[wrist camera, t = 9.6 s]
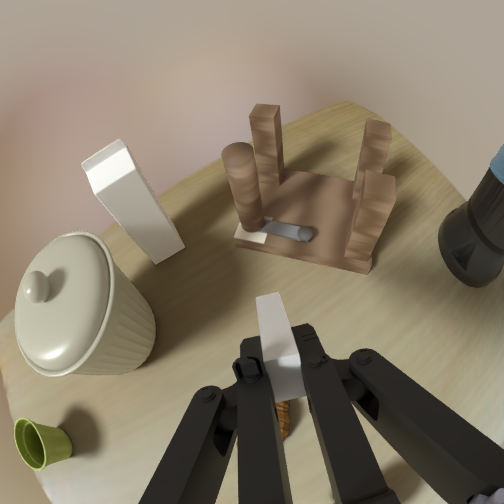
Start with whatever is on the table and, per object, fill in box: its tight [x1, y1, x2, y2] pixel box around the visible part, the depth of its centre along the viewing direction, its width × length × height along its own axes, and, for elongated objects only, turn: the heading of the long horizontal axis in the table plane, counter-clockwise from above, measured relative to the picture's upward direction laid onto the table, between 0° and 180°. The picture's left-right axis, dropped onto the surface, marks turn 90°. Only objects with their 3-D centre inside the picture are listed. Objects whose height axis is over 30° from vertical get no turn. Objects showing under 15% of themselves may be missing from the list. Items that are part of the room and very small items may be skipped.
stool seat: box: [233, 104, 396, 274], centre depth 37 cm, size 21×16×16 cm
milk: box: [81, 139, 185, 265], centre depth 36 cm, size 6×6×22 cm
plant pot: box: [14, 417, 73, 471], centre depth 25 cm, size 9×9×9 cm
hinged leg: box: [221, 142, 313, 242], centre depth 34 cm, size 11×4×15 cm, turn 71°
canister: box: [15, 231, 156, 377], centre depth 30 cm, size 18×18×21 cm
